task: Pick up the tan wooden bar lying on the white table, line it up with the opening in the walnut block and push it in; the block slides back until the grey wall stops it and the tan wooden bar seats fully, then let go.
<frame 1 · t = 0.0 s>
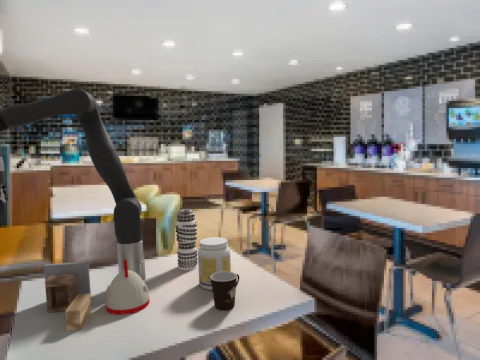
coffee mug: (228, 305, 117), on the table
decorative candle: (188, 267, 155), on the table
cream dome: (128, 305, 119), on the table
tan wooden bar: (80, 320, 110), on the table
wall: (69, 299, 124), on the table
block: (62, 292, 118), point 5 cm above the table, slide at 0.0 cm
supplement tub: (215, 285, 134), on the table
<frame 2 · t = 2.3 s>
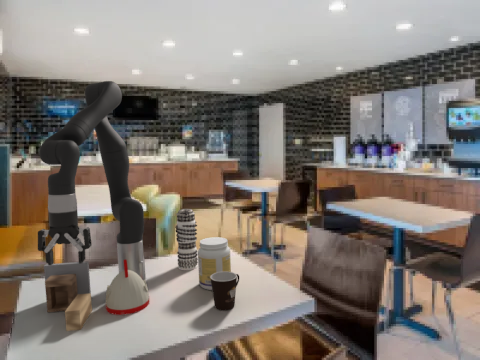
hand: (66, 263, 105), 19 cm above the table, tool pointing down, fingers open, 8 cm apart
nothing on the table moved.
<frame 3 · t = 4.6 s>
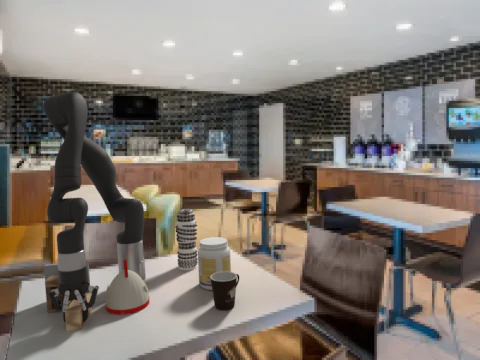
hand: (76, 321, 106), 1 cm above the table, tool pointing down, fingers closed on tan wooden bar, 4 cm apart
tan wooden bar: (80, 320, 110), on the table, touching gripper
everything else where it was.
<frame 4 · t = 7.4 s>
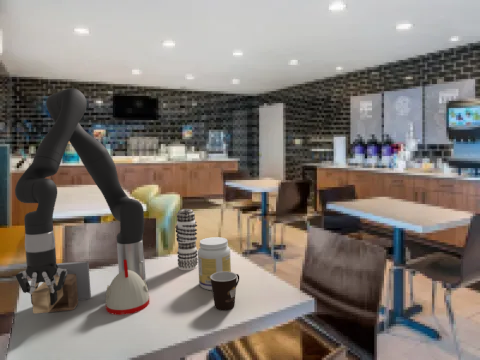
hand: (44, 304, 105), 7 cm above the table, tool pointing down, fingers closed on tan wooden bar, 4 cm apart
tan wooden bar: (49, 303, 108), point 6 cm above the table, touching gripper
everything else where it was.
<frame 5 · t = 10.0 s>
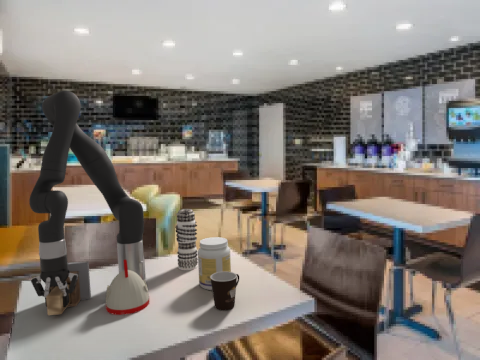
hand: (57, 306, 113), 3 cm above the table, tool pointing down, fingers closed on tan wooden bar, 4 cm apart
tan wooden bar: (61, 306, 116), point 1 cm above the table, touching gripper
block: (64, 289, 120), point 5 cm above the table, slide at 2.8 cm
everything else where it was.
when the fingers open (3 cm above the table, at t = 10.3 s): tan wooden bar stays where it is, resting on block.
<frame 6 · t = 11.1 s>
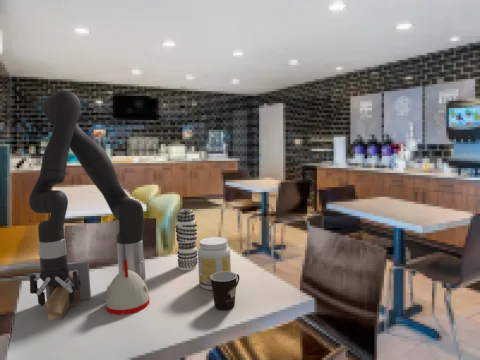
hand: (57, 303, 113), 4 cm above the table, tool pointing down, fingers open, 8 cm apart
tan wooden bar: (61, 308, 116), point 1 cm above the table, tilted 7°, touching block
block: (65, 289, 121), point 5 cm above the table, slide at 2.9 cm, touching tan wooden bar
everything else where it was.
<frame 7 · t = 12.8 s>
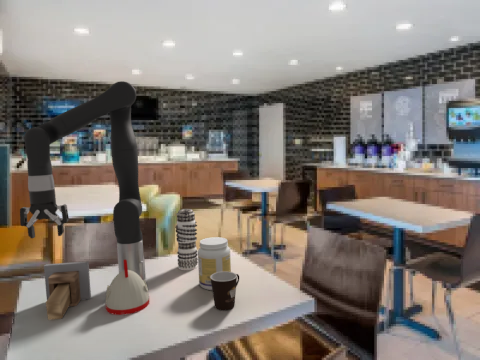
hand: (46, 236, 120), 23 cm above the table, tool pointing down, fingers open, 8 cm apart
nothing on the table moved.
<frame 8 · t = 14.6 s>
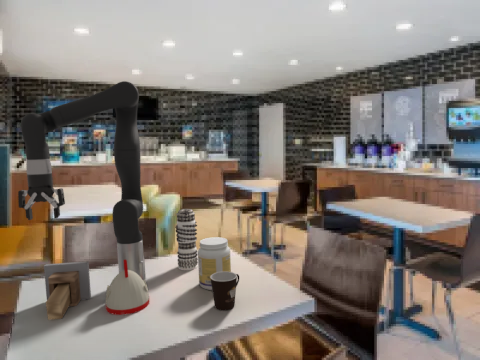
hand: (43, 218, 125), 28 cm above the table, tool pointing down, fingers open, 8 cm apart
nothing on the table moved.
at the end: block slide at 2.9 cm; tan wooden bar 0.1 cm from the target spot, point 0.7 cm above the table; the gripper is holding nothing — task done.
